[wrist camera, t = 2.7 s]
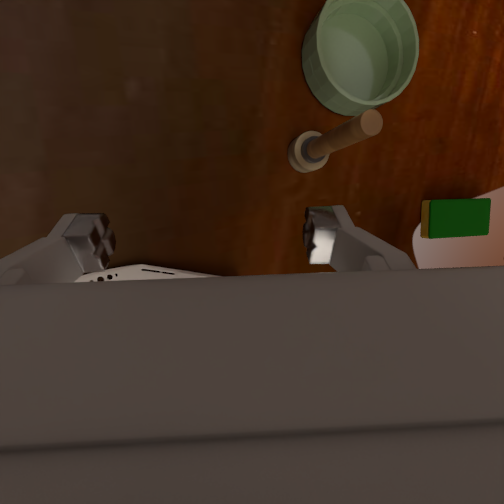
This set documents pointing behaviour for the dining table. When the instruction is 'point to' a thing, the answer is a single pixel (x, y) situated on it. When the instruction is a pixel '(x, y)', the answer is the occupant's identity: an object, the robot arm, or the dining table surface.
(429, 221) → the dish sponge
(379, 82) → the bowl
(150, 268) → the knife
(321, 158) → the wooden dowel stand
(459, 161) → the dining table surface
